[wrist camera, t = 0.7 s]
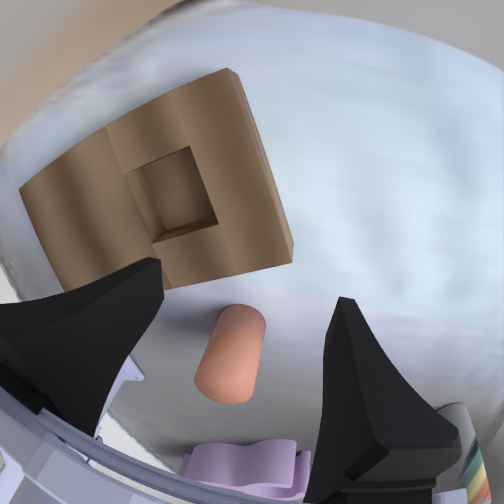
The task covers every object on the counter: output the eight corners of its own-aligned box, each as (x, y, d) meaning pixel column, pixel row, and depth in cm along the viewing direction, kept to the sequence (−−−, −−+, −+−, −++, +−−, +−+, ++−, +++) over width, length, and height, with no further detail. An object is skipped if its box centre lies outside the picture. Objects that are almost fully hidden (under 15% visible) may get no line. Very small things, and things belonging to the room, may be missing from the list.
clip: (277, 426, 31) (270, 475, 25) (324, 460, 34) (322, 499, 28) (173, 446, 39) (160, 480, 32) (224, 476, 42) (216, 507, 36)
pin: (228, 343, 26) (208, 404, 19) (211, 308, 24) (184, 368, 18) (271, 337, 25) (260, 402, 18) (257, 300, 23) (240, 364, 17)
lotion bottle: (436, 430, 29) (455, 553, 11) (419, 420, 28) (438, 560, 10) (470, 409, 26) (500, 534, 8) (457, 396, 25) (490, 539, 8)
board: (91, 291, 26) (74, 308, 23) (40, 180, 22) (18, 189, 19) (293, 243, 21) (292, 262, 18) (238, 75, 16) (226, 67, 14)
